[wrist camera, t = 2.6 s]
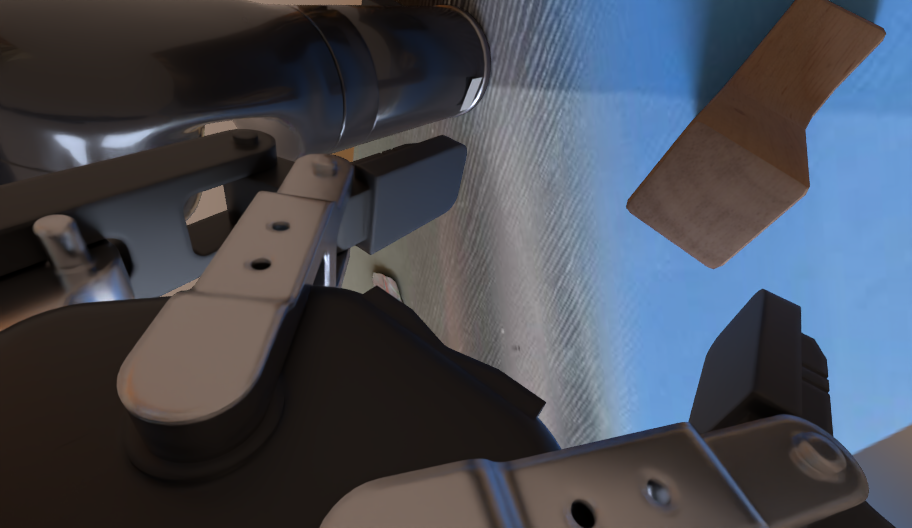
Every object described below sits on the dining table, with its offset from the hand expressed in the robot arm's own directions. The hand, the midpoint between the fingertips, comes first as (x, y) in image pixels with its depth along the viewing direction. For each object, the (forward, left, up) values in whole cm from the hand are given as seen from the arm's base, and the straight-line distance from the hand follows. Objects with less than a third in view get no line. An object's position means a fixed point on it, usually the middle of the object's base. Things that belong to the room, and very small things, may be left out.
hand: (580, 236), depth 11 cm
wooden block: (+3, +2, -26) cm, 26 cm away
